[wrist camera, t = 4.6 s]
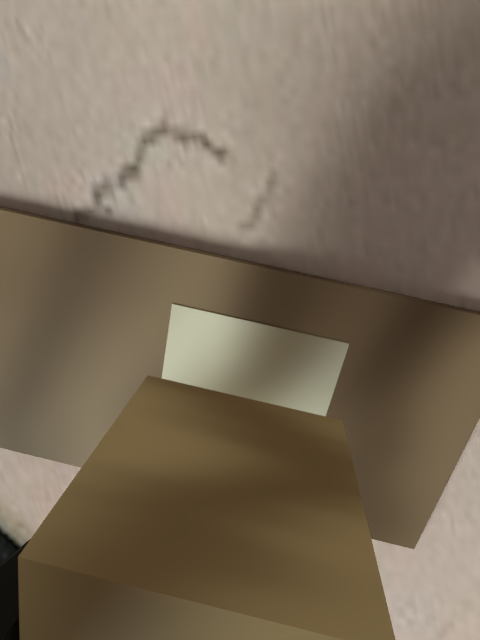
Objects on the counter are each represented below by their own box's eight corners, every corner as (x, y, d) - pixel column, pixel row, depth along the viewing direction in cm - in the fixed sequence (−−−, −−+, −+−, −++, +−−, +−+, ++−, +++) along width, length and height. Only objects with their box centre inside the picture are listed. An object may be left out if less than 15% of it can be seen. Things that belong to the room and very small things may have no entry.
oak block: (342, 420, 9) (398, 653, 5) (278, 604, 12) (273, 876, 7) (147, 374, 10) (17, 556, 5) (124, 565, 12) (23, 806, 7)
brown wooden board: (517, 320, 14) (526, 325, 13) (410, 539, 18) (414, 550, 17) (-11, 204, 14) (-22, 205, 14) (-3, 438, 18) (-11, 445, 18)
